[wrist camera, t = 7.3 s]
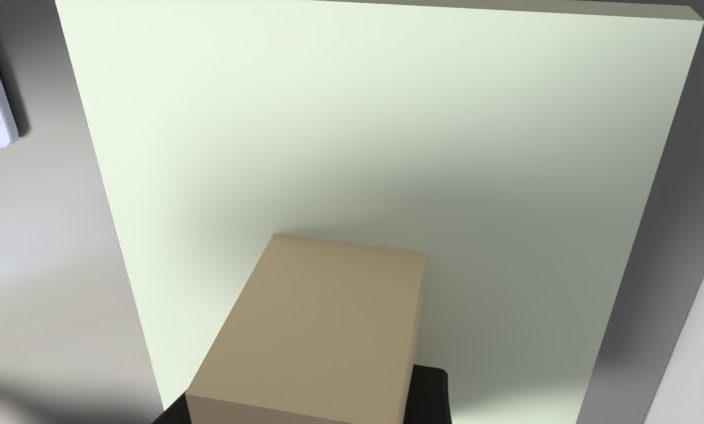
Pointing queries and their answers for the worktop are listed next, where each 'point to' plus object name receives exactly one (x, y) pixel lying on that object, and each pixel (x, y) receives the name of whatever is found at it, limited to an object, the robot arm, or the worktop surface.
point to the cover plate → (376, 193)
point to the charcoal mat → (656, 264)
